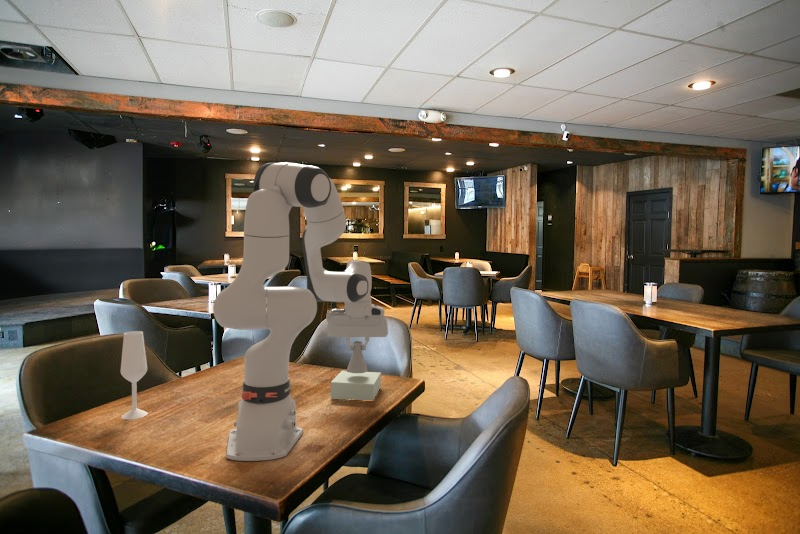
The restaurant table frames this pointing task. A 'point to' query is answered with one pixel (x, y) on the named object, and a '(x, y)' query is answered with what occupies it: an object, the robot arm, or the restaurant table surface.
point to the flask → (357, 360)
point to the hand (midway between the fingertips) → (357, 350)
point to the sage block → (356, 385)
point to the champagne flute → (133, 368)
